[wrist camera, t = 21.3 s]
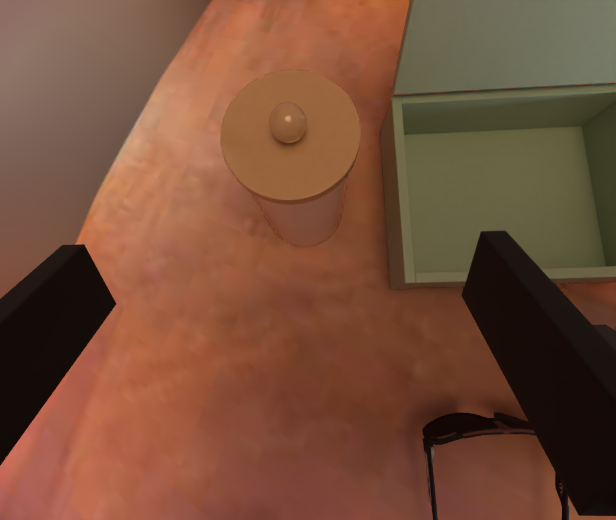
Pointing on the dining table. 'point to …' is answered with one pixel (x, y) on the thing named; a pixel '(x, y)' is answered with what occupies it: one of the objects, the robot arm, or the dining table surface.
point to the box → (501, 181)
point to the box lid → (505, 44)
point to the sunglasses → (472, 426)
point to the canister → (293, 151)
